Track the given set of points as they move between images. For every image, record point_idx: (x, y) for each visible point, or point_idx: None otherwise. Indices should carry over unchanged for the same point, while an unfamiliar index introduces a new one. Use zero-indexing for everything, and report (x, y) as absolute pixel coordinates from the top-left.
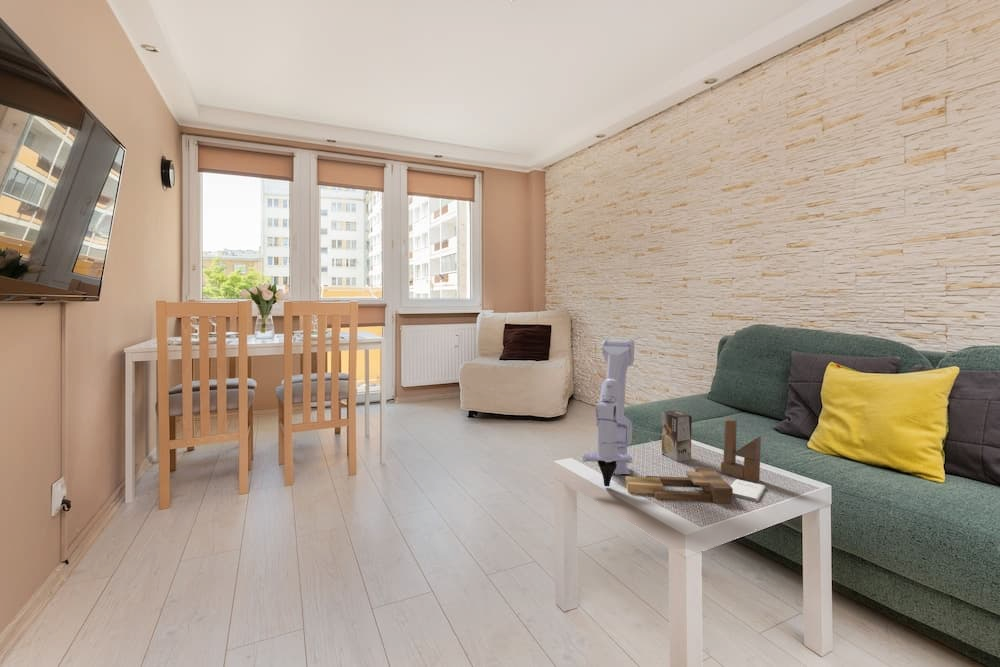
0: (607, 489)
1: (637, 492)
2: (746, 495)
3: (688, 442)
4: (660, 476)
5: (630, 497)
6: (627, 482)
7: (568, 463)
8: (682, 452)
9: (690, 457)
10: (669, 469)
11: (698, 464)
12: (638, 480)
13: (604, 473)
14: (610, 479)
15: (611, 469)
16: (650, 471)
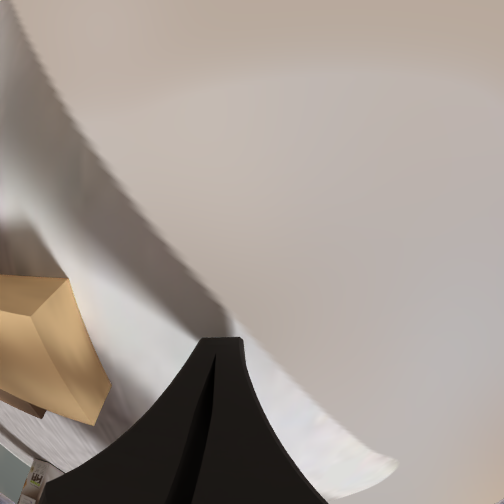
0: (219, 318)
1: (23, 277)
2: None
3: (25, 489)
4: (4, 401)
5: (43, 187)
6: (44, 344)
7: (366, 481)
8: (37, 476)
9: (33, 462)
10: (40, 443)
11: (13, 439)
12: (11, 365)
13: (243, 443)
14: (173, 381)
15: (116, 487)
16: (73, 450)
